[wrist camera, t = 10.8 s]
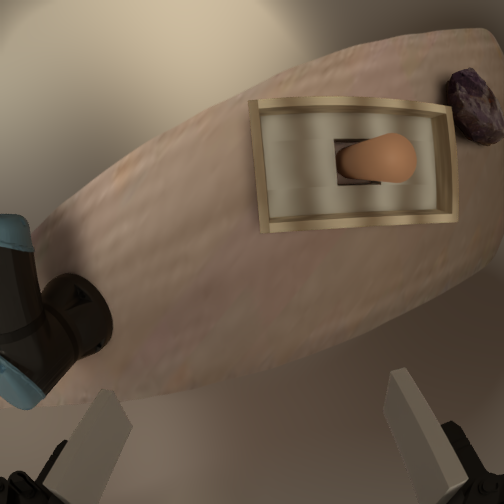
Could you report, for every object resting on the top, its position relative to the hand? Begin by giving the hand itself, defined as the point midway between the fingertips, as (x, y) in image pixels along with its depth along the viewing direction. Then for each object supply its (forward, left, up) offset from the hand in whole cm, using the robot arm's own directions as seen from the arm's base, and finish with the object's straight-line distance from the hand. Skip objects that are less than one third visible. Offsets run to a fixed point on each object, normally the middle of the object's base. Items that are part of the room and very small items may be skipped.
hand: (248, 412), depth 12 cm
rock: (+32, +19, -29) cm, 47 cm away
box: (+12, +11, -28) cm, 33 cm away
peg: (+12, +11, -28) cm, 33 cm away
